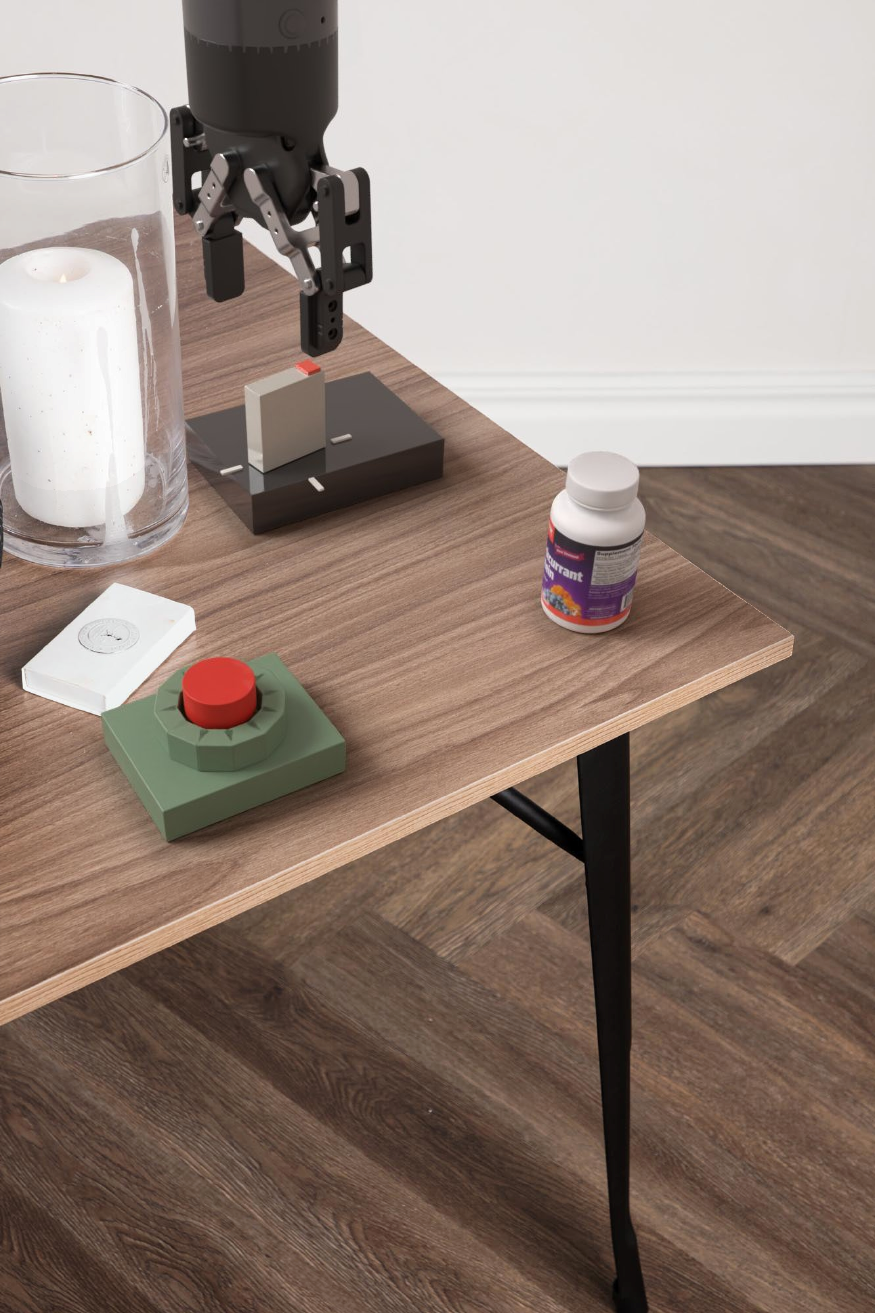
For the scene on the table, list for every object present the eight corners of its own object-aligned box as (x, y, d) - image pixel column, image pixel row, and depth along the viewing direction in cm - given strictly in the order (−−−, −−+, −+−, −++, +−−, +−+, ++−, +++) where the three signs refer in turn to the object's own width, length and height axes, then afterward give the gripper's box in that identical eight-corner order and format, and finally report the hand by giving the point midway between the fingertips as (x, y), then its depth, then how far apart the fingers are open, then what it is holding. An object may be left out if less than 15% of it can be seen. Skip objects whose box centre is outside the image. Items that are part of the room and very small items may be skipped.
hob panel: (256, 551, 87) (254, 509, 85) (179, 460, 95) (175, 419, 93) (456, 488, 94) (458, 447, 92) (369, 408, 101) (369, 368, 99)
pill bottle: (524, 591, 85) (538, 454, 79) (601, 571, 87) (621, 435, 81) (567, 645, 82) (585, 506, 75) (647, 623, 84) (671, 485, 77)
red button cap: (202, 740, 70) (200, 713, 68) (173, 696, 72) (170, 670, 71) (268, 715, 71) (267, 689, 70) (237, 674, 73) (235, 648, 72)
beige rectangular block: (263, 473, 89) (259, 392, 85) (248, 462, 89) (243, 382, 86) (325, 446, 91) (324, 367, 87) (310, 436, 92) (308, 357, 88)
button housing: (166, 843, 69) (159, 785, 66) (104, 743, 74) (95, 686, 72) (346, 771, 73) (346, 714, 71) (276, 681, 78) (273, 625, 76)
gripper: (416, 40, 67) (406, 351, 77) (234, -27, 75) (248, 263, 85) (291, 69, 63) (299, 393, 73) (113, -5, 71) (142, 297, 81)
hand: (271, 323), depth 79 cm, fingers open, 8 cm apart
